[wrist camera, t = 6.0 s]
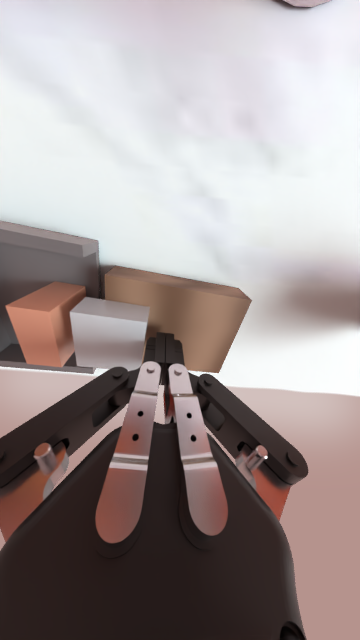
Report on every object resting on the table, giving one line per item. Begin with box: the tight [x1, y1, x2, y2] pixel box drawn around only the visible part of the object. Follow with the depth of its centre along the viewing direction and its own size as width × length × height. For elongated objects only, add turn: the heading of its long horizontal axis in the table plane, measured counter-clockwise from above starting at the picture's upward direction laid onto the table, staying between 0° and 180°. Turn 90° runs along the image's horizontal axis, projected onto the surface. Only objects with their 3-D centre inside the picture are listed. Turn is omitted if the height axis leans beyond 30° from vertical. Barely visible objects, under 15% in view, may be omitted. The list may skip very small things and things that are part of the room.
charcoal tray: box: [0, 221, 101, 374], centre depth 15 cm, size 10×13×3 cm
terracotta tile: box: [6, 281, 86, 367], centre depth 14 cm, size 5×5×2 cm
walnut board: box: [105, 266, 252, 373], centre depth 17 cm, size 12×9×3 cm
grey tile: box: [70, 297, 150, 371], centre depth 13 cm, size 5×5×2 cm
